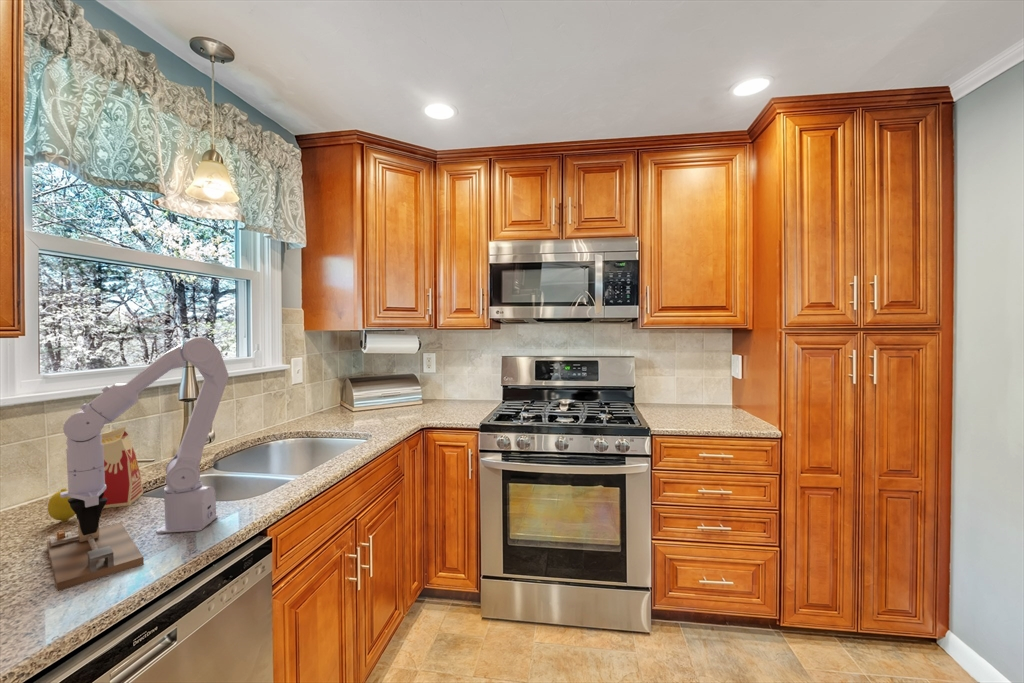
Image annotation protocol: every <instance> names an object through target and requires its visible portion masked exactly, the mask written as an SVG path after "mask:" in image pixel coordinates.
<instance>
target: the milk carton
mask: <svg viewBox="0 0 1024 683" xmlns="http://www.w3.org/2000/svg"><path fill="white" fill-rule="evenodd" d="M126 428H127V426H122V427H119V428H117V429H114V430H110V431H107V432H101V435H102V443H103V450H104V472H105V484H106V490H105V491H104V496H103V497H102V498H107V502H106V504H105V506H104V508H103V509H108V508H117V507H126V506H127V507H128V506H130V505H132V504H133V503H134V502H135V501H136V500H138V499H139V498H140V497H141V496H142V495H143V494H144V490H143V488H144V487H143V482H142V474H141V470H140V466H139V462H138V460H137V454H136V452H135V449H134V446H133V444H132V440H131V438H130V435H129V433H127V431H126Z"/></svg>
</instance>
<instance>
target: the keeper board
mask: <svg viewBox="0 0 1024 683" xmlns="http://www.w3.org/2000/svg"><path fill="white" fill-rule="evenodd" d="M75 535H78V533H74V534H72V536H75ZM63 538H67V535H66V530H65V529H59V530H57V531H56V538H54V539H55V541H56V540H60V539H63ZM94 540H95V542H96V545H97V547H98V549H96V550H92V549H91V547H90V544H89V542H88V540H87V541H83V542H80V541H79V539H77V540H73V541H69V542H65V543H61V544H58V545H54V546H51V543H50V539H49V540H47V541H46V550H47V553H48V557H49V562H50V566H51V570H52V574H53V578H54V583H55V587H56V591H57V592H60V591H63V590H67V589H71V588H73V587H77V586H79V585H82V584H86V583H88V582H92V581H95V580H98V579H102V578H105V577H108V576H112V575H115V574H117V573H121V572H124V571H128V570H130V569H133V568H137V567H140V566H143V565H145V562H144V555H143V554H142V552H141V550H140V549H139V547H138V546H137V545H136V542H134V540H133V539H132V537H131V535H130V534H129V532H128V531H127V529H126V528H125V527H124V525H123V523H122V522H117V523H114V524H110V525H106V526H102V527H99V537H98V538H94Z"/></svg>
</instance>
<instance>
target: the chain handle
mask: <svg viewBox="0 0 1024 683" xmlns="http://www.w3.org/2000/svg"><path fill="white" fill-rule="evenodd" d="M77 528H78V529H77V532H78V535H75V536H72V535H73V534H72V532H71V531H70V532H66V536H67V538H63V539H60V540H56V541H55V539H56V538H55V536H50V537H49V540H50V543H51V546H54V545H58V544H61V543H65V542H69V541H73V540H77V539H79V541H80V542H83V541H87V540H88V542H89V544H90V547H91V549H92V550H96V549H98V547H97V545H96V542H95V540H94V538H98V537H99V528H100V524H99V525H98V529H97V532H96V533H92V534H88V535H83V534H82V531H81V528H80V524H79V520H77Z"/></svg>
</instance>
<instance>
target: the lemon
mask: <svg viewBox="0 0 1024 683" xmlns="http://www.w3.org/2000/svg"><path fill="white" fill-rule="evenodd" d="M66 491H68V488H67V489H66V488H62V489H60V490H59V491H56V492H55V493H53V495H52V496H51V497H50V499H49V500H48V504H47V513H48V514H49V516H50V517H51V518H52V519H54V520H56V521H60V522H63V523H65V522H68V521H69V519H71V518H72V517H74V516H76V514H75V512H74V511H73V510H72V509H71V507H70V503H69V502H68V499H70V498H71V497H64V498H61V496H60V493H62V492H66Z"/></svg>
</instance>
